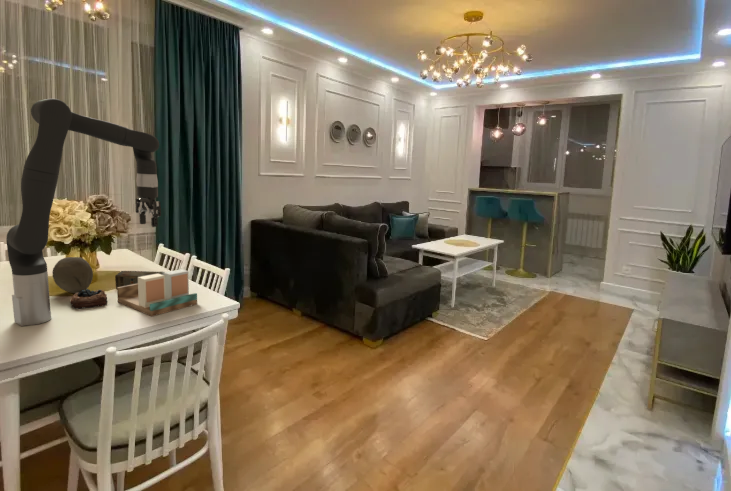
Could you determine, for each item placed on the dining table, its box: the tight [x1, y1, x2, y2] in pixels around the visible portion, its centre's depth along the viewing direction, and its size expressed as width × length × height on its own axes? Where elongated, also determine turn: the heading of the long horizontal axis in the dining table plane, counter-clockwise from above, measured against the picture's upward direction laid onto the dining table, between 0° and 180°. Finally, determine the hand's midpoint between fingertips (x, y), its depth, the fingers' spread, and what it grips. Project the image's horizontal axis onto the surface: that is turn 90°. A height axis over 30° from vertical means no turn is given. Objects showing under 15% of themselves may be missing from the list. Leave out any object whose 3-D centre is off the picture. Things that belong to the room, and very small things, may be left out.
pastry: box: [69, 288, 108, 310], centre depth 160 cm, size 11×12×6 cm
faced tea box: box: [163, 268, 190, 300], centre depth 166 cm, size 8×5×11 cm, turn 147°
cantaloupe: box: [52, 256, 94, 294], centre depth 171 cm, size 14×14×15 cm
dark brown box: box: [114, 270, 165, 289], centre depth 186 cm, size 8×19×7 cm, turn 101°
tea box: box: [138, 274, 165, 308], centre depth 158 cm, size 8×5×11 cm, turn 147°
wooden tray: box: [116, 283, 198, 317], centre depth 166 cm, size 19×24×6 cm
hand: (148, 225), depth 168 cm, fingers open, 8 cm apart
